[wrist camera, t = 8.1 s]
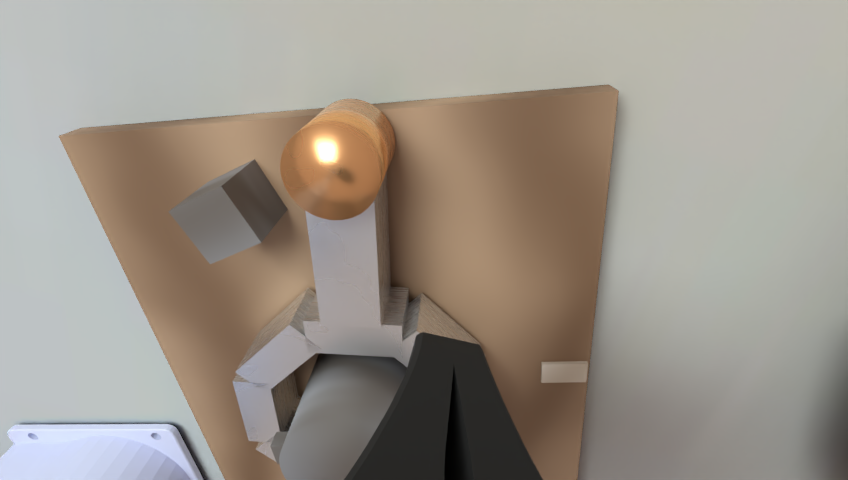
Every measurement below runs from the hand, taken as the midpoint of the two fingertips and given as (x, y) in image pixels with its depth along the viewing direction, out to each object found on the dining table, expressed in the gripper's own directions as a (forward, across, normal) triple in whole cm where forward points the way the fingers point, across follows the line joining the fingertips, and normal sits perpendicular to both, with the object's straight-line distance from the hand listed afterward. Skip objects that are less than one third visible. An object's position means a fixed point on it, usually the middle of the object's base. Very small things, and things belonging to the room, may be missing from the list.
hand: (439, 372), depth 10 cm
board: (+8, +1, +8) cm, 11 cm away
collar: (+7, +2, +4) cm, 8 cm away
